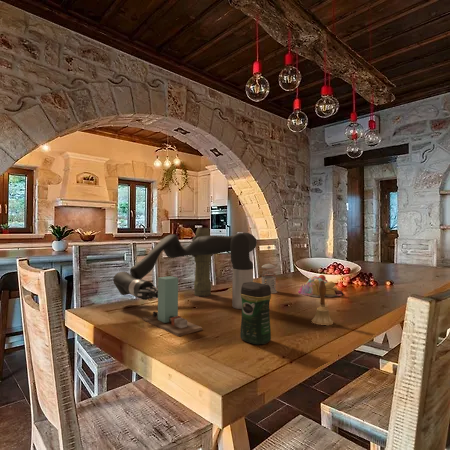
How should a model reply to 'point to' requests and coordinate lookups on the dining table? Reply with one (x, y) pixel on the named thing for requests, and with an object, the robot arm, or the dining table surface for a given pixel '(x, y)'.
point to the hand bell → (322, 308)
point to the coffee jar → (255, 313)
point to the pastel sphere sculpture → (313, 287)
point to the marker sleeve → (167, 298)
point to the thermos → (202, 268)
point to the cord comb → (173, 324)
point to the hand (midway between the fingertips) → (163, 296)
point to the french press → (269, 277)
